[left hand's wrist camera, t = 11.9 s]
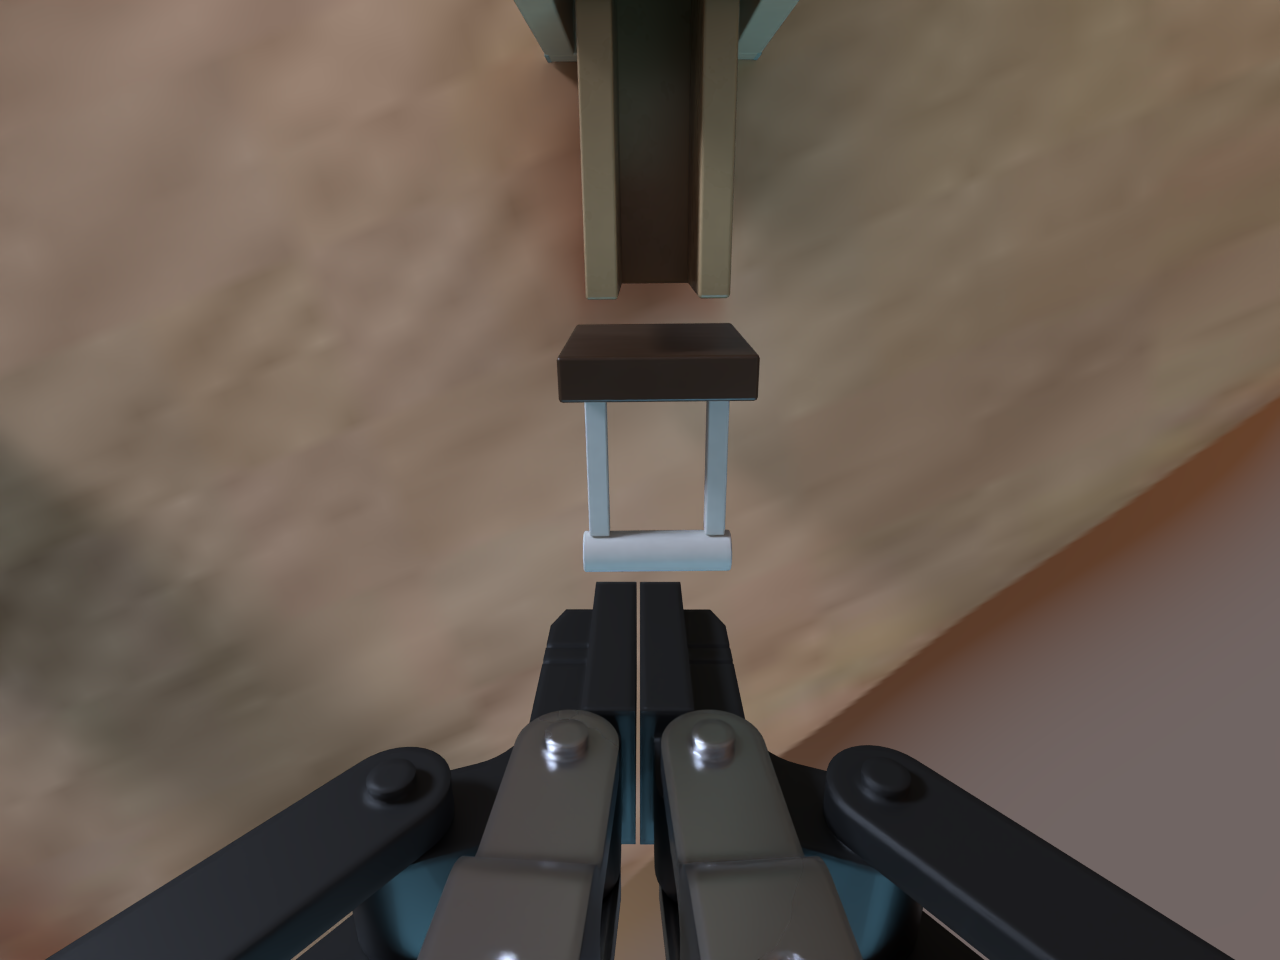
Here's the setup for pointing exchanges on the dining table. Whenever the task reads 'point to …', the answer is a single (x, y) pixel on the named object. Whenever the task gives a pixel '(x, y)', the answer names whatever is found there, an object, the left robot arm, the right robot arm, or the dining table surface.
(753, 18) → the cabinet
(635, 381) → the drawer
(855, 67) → the dining table surface
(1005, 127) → the dining table surface
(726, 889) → the left robot arm
